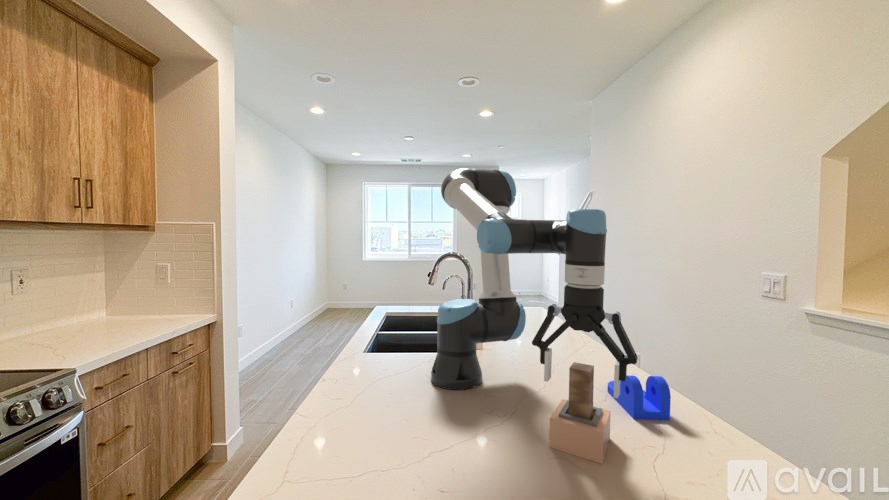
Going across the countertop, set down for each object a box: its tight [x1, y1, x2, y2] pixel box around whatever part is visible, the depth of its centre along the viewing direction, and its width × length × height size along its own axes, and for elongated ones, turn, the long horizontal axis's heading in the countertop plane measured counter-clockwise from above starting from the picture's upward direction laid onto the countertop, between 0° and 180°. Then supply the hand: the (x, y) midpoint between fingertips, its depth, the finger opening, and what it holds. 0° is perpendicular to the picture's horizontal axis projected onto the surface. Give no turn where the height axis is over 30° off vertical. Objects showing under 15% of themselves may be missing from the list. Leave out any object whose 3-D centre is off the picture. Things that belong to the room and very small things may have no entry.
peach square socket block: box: [548, 398, 612, 465], centre depth 74 cm, size 10×10×7 cm
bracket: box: [606, 374, 671, 421], centre depth 92 cm, size 18×8×9 cm, turn 178°
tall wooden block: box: [568, 361, 595, 420], centre depth 73 cm, size 4×4×14 cm
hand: (580, 387), depth 74 cm, fingers open, 13 cm apart
